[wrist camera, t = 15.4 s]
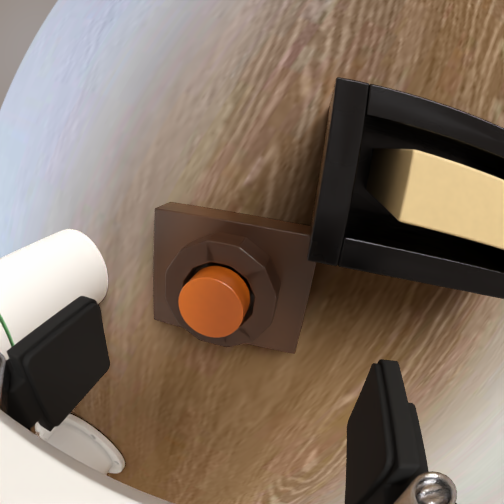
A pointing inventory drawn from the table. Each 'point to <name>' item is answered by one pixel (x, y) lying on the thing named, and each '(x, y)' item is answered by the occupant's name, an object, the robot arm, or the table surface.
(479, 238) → the toast
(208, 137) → the table surface
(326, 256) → the toaster
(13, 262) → the cylindrical container
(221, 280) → the button
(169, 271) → the control block
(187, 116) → the table surface
